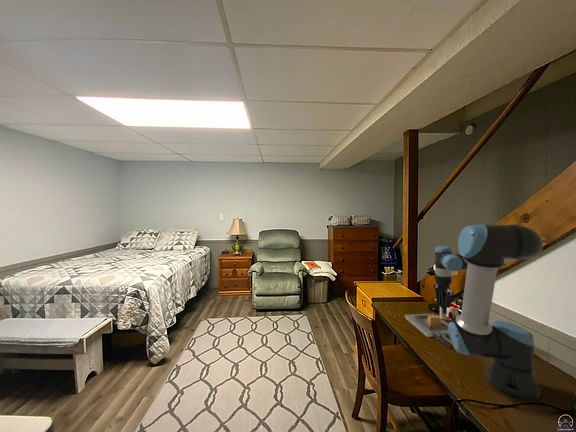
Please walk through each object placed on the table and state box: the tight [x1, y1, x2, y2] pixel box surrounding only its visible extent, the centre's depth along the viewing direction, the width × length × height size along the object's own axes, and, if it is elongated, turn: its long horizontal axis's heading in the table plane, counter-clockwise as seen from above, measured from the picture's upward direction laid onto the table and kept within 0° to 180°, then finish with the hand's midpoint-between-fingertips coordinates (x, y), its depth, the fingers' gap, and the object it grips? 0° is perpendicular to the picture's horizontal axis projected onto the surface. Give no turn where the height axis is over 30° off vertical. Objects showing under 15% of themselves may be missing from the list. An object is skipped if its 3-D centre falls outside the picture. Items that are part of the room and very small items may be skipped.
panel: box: [404, 313, 450, 338], centre depth 145 cm, size 24×18×4 cm
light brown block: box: [428, 314, 442, 326], centre depth 141 cm, size 3×6×5 cm, turn 92°
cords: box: [434, 335, 453, 349], centre depth 128 cm, size 11×8×1 cm
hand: (443, 318), depth 134 cm, fingers closed
